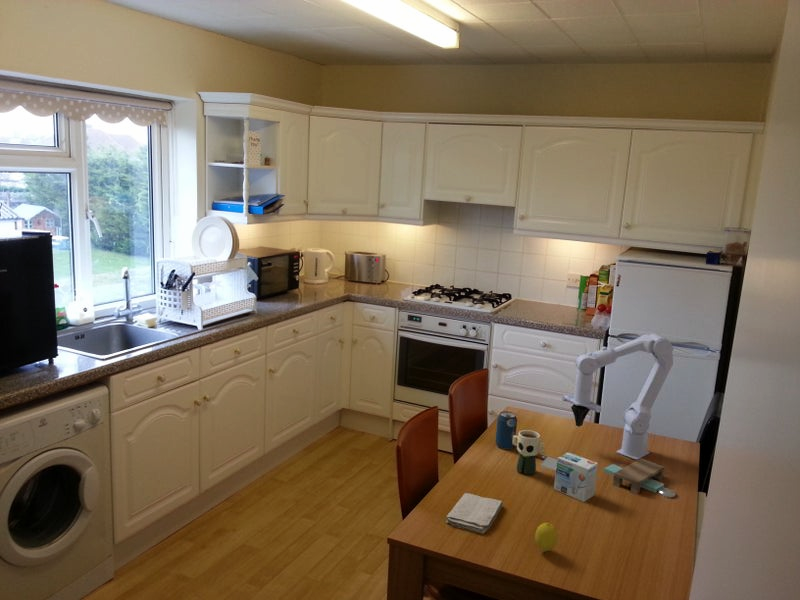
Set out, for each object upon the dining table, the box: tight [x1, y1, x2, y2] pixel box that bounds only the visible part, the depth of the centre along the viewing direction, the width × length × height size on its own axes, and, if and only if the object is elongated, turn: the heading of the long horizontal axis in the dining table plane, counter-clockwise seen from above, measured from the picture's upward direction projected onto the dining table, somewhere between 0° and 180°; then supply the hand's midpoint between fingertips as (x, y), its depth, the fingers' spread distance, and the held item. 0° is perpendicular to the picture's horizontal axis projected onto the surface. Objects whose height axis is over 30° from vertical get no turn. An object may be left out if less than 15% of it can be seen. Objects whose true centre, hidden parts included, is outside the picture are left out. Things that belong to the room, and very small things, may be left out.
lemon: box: [534, 522, 558, 553], centre depth 169 cm, size 6×6×8 cm
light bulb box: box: [553, 452, 599, 503], centre depth 202 cm, size 11×7×11 cm, turn 47°
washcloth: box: [445, 492, 503, 534], centre depth 186 cm, size 12×18×3 cm, turn 157°
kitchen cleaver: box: [535, 453, 558, 472], centre depth 222 cm, size 24×1×10 cm
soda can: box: [495, 410, 518, 450], centre depth 234 cm, size 7×7×12 cm
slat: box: [603, 463, 665, 494], centre depth 214 cm, size 6×18×2 cm, turn 43°
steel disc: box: [657, 487, 676, 499], centre depth 205 cm, size 5×5×1 cm
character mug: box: [513, 429, 546, 475], centre depth 214 cm, size 11×7×13 cm, turn 59°
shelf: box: [612, 457, 665, 495], centre depth 212 cm, size 18×8×4 cm, turn 134°
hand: (578, 425), depth 233 cm, fingers closed
